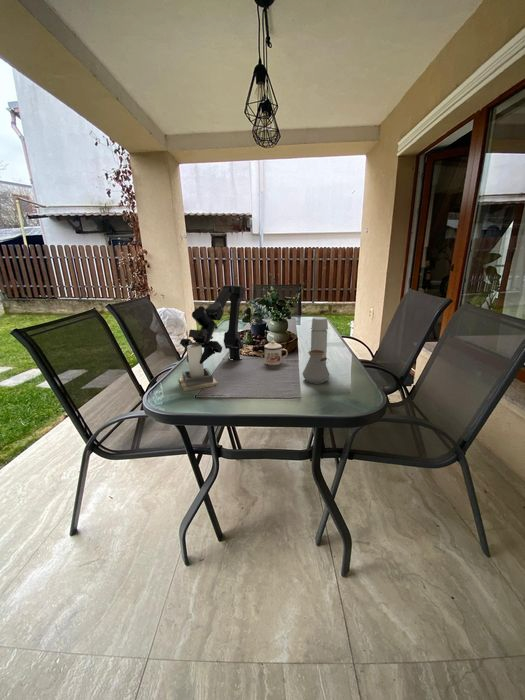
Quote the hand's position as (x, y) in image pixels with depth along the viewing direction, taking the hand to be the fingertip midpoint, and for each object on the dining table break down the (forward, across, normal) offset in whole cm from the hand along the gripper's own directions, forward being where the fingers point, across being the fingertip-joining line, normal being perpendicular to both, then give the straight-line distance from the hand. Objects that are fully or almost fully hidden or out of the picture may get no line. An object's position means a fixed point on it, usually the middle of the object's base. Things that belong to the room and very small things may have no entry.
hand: (194, 362), depth 122 cm
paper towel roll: (+4, 0, +6) cm, 7 cm away
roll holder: (+6, 0, +8) cm, 10 cm away
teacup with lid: (-19, +23, +33) cm, 45 cm away
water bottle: (-17, +46, +30) cm, 58 cm away
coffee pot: (-4, +50, +18) cm, 53 cm away
